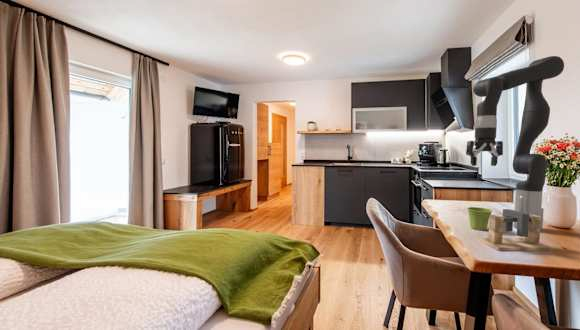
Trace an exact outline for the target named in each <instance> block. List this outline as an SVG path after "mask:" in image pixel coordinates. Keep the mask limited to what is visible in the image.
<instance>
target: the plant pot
mask: <svg viewBox="0 0 580 330" xmlns="http://www.w3.org/2000/svg"><path fill="white" fill-rule="evenodd" d="M466 210H467V212H468V217H469V226H470V229H473V230H476V231H477V230H478V231H487V229H488V226H489V217H490V215H492V213H493V210H492V209H490V208H485V207H479V206H477V207H476V206H469V207H466Z"/></svg>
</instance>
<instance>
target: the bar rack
mask: <svg viewBox="0 0 580 330" xmlns="http://www.w3.org/2000/svg"><path fill="white" fill-rule="evenodd" d="M503 222H513V223H514V222H517V218H514V217H503V215H499V214H491V215H490V217H489V221H488V234H487V235H488V236H487V237H476V241H477V242H479V243H481V244H483V245H485V246H487V247H489V248H491V249H494V250H496V251H500V252H501V251H504V252H505V251H506V252H507V251H554V247H553V246H550V245H548V244H546V243H545V244H544V243H542V242H540V240H541V238H540V236H541V230H540V225H541V217H540V216H537V215H529V230H528V237H504V236H503V231H504V230H503Z"/></svg>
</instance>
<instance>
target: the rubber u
mask: <svg viewBox="0 0 580 330" xmlns="http://www.w3.org/2000/svg"><path fill="white" fill-rule="evenodd" d="M502 216H503V217H514V218H517V228H516V236H518V237H519V238H525V237H528V230H529V214H526V213H522V212H518V211H515V209H511V208H510V209H509V208H508V209H507V208H504V209H502ZM513 227H514V222H503V231H504V232H514V231H513Z"/></svg>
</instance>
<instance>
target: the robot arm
mask: <svg viewBox="0 0 580 330" xmlns="http://www.w3.org/2000/svg"><path fill="white" fill-rule="evenodd" d="M564 69H565V62H564V59H562V58H561V57H560V56H557V55H551V56H547V57H543V58H540V59H536V60H534V61H531V62H530V64H529V65H528V66H526V67H523V68H522V67H521V68H519V69H517V68H516V69H515V70H514V69H513V70H511V71H506V72H504V73H501V74H499V75H497V76H496V75H495V76H493V77H489V78H484V79H481V80H478V81H477V82H476V83H475V84H474V86H473V89H472V90H473V91H472V92H473V94H475V96H477V97H479V98H483V97H484V100H483V101H480V102H479V103H477V105H476V119H475V122H474V124H475V125H474V139H475V140H467V142H466V149H465V150H466V151H465V154H466V155H467V156H469V157H470V165H471V166H473V167H476V166H477V161H478V159H477V158H478V157H477V156H478V155H479V154H480V153H481V152H487V153H489V154H490V155H491V158H490V166H491V167H496V166H497V164H498V161H499V160H498V159H499V157H500V156H503V155H504V150H503V149H504V142H503V141H502V140H499V141H498V140H497V141H496V138H497V128H498V127H497V126H498V119H497V115H498V114H497V113H498V105H499V102H500V99H501V97H502V93H503V91H509V90H511V89H514V88H516V87H517V88H518V87H520V86H522V85H525V84H526V88H525V90H526V91H525V99H524V106H523V110H522V117H521V123H520V131H519V135H518V140H517V143H516V144H517V145H516V147H515V151H514V156H513V157H512V158H513V160H512V169H513V171H514V172H515V173H516V174H520V175H528V176H527V179H526V180H523V181H519V182H517V183H516V184H515V196H514V197H515V198H514V199H515V200H514V211H518V212H522V213H526V214H529V215H537V216H540V217H541V225H540V231H543V225H544V208H543V205H542V203H543V192H544V191H543V190H544V186H545V184H546V175H547V169H548V160H547V158H546V156H545V155H543V154H542V153H531V149H532V147H533V144H534V143H535V141H536V140H537V138H539V137H540V135H542V133H543V132H544V130H545V129H546V128H547V127H548V124H549V119H550V113H551V107H550V105H549V103H548V101H547V100H546V98H545V96H544V95H543V87H542V86H543V81H544V80H549V79H550V80H551V79H553V78H556V77H558V76H560V75H561V74H562V73H563V71H564ZM474 146H475V147H474ZM513 227H514V228H516V229H517V222H513Z"/></svg>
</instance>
